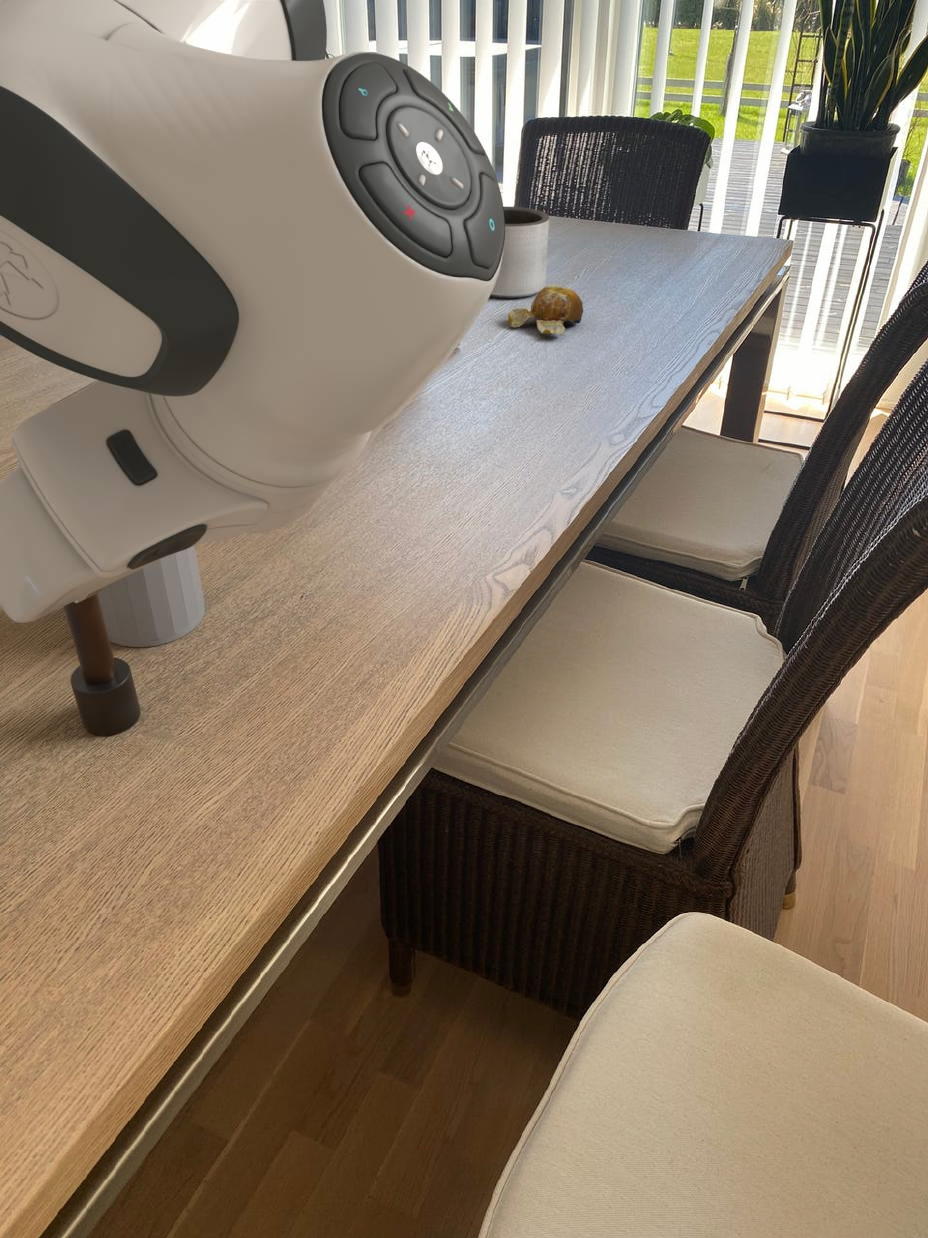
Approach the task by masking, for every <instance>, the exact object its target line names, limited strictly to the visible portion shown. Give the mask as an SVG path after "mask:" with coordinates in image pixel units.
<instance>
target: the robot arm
mask: <svg viewBox="0 0 928 1238" xmlns="http://www.w3.org/2000/svg"><path fill="white" fill-rule="evenodd" d="M326 15H327V14H326V8H325V3H324V0H0V336H1V337H3V338H5V339H6V340H8V341H10V342H12V343H13V344H15V345H17V346H18V347H20V348H21V349H23V350H25V351H27V352H29V353H31V354H32V355H35V356H37V357H38V358H40V359H43V360H45V361H47V362H49V363H50V364H54V365H55V366H58V367H60V368H63V369H65V370H67V371H70V372H73V373H75V374H79V375H82V376H84V377H87V378H91V379H94V381H93V382H91V383H89V384H87V385H86V386H84V387H82V388H81V389H79V390H77V391H75V392H74V393H71V394H70V395H68V396H66V397H63V398H62V399H60V400H58V401H57V402H55V403H53V404H51V405H49V406H47V407H46V408H44V409H42V410H40V411H38V412H36V413H34V414H31V415H30V416H29V417H27V418H26V419H25V420H23V421H22V422H20V424H19V425H17V427H16V428H15V429H14V431H13V433H12V436H11V439H10V445H11V449H12V451H13V453H14V455H15V457H16V459H17V461H18V463H19V465H17V467H15V468H14V469H12V470H11V471H10V472H9V473H8V474H7V475H6V476H5V477H4V478H3V479H2V480H1V481H0V608H1V609H2V611H3V612H4V613H5V615H7V616H8V618H9V619H10V620H12V621H13V622H15V623H18V624H27V623H31V622H35V621H37V620H40V619H41V618H44V617H45V616H47V615H50V614H51V613H53V612H55V611H57V610H60V609H61V608H64V606H65V605H67V604H69V603H72V602H75V603H79V602H81V601H83V600H85V599H87V598H89V597H91V596H93V595H95V594H97V593H99V592H101V591H102V590H103V587H105V586H107V585H109V584H111V583H113V582H115V581H117V580H119V579H121V578H123V577H125V576H127V575H130V574H132V573H134V572H136V571H138V570H140V569H142V568H144V567H146V566H148V565H150V564H152V563H154V562H156V561H159V560H161V559H163V558H165V557H167V556H169V555H171V554H174V553H177V552H180V551H183V550H186V549H188V548H190V547H192V546H200V545H206V544H209V543H214V542H218V541H219V542H220V541H224V540H228V539H232V538H235V537H239V536H241V535H244V534H261V533H266V532H271V531H275V530H278V529H281V528H284V527H287V526H288V525H290V524H293V523H294V522H296V521H297V520H298V519H300V518H301V517H302V516H304V515H305V514H306V513H307V512H308V511H309V510H310V509H311V508H312V507H313V506H314V505H315V504H316V502H318V501H319V499H320V498H321V497H322V496H324V494H325V493H326V492H327V491H328V490H329V489H330V488H331V487H332V486H333V485H334V484H335V483H336V482H337V481H338V479H339V478H340V477H341V476H342V475H343V474H344V473H345V472H346V471H347V470H348V469H349V468H350V467H351V466H352V465H353V464H354V463H355V462H356V461H357V460H358V459H359V458H360V457H361V455H362V454H363V453H364V452H365V450H367V448H368V447H369V446H370V445H371V443H372V442H373V440H374V439H375V438H376V437H377V435H378V434H379V432H381V430H382V429H383V427H384V426H385V425H387V424H388V423H389V422H391V421H392V420H393V419H395V418H396V417H397V416H398V415H400V414H401V413H402V411H404V409H405V408H406V407H407V406H408V405H409V404H410V403H411V402H412V401H413V400H414V399H415V398H416V397H417V395H419V394H420V392H421V391H422V390H423V389H424V388H425V387H426V386H427V385H428V383H429V382H430V381H431V380H432V378H433V377H434V376H435V375H436V374H437V373H438V371H440V369H441V368H442V366H443V365H444V364H445V363H446V362H447V360H448V359H449V358H450V357H451V355H452V354H453V353H454V352H455V350H456V349H457V348H458V346H459V345H460V343H461V342H462V341H463V340H464V338H465V337H466V336H467V334H468V333H469V331H470V329H471V328H472V327H473V325H474V324H475V322H476V321H477V319H478V318H479V316H480V314H481V312H482V310H484V308H485V305H486V304H487V302H488V300H489V298H490V297H491V296H490V294H491V292H492V290H493V288H494V286H495V283H496V280H497V277H498V275H499V271H500V267H501V262H502V257H503V250H504V240H505V217H504V208H503V207H504V202H503V197H502V192H501V188H500V185H499V183H498V178H497V175H496V173H495V170H494V167H493V164H492V163H491V160H490V158H489V156H488V154H487V152H486V150H485V148H484V146H483V144H482V142H481V140H480V139H479V137H478V135H477V134H476V132H475V130H474V129H473V128H472V126H471V125H470V124H469V121H468V120H467V119H466V117H464V115H463V114H462V112H461V111H460V110H459V109H458V108H457V106H456V105H455V104H454V103H453V101H451V99H450V98H449V97H448V96H447V95H446V94H445V93H444V92H443V91H442V90H441V89H439V88H438V86H436V85H435V84H434V83H433V82H432V81H430V80H429V79H428V78H427V77H425V76H424V75H423V74H422V73H420V72H419V71H418V70H416V69H414V68H413V67H412V66H409V65H408V64H406V63H404V62H402V61H400V60H398V59H396V58H394V57H391V56H389V55H385V54H383V53H378V52H372V51H351V52H349V53H344V54H340V55H337V56H333V57H327V58H326V55H327V47H328V46H327V44H328V43H327V42H328V29H327V26H328V25H327V16H326Z"/></svg>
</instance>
